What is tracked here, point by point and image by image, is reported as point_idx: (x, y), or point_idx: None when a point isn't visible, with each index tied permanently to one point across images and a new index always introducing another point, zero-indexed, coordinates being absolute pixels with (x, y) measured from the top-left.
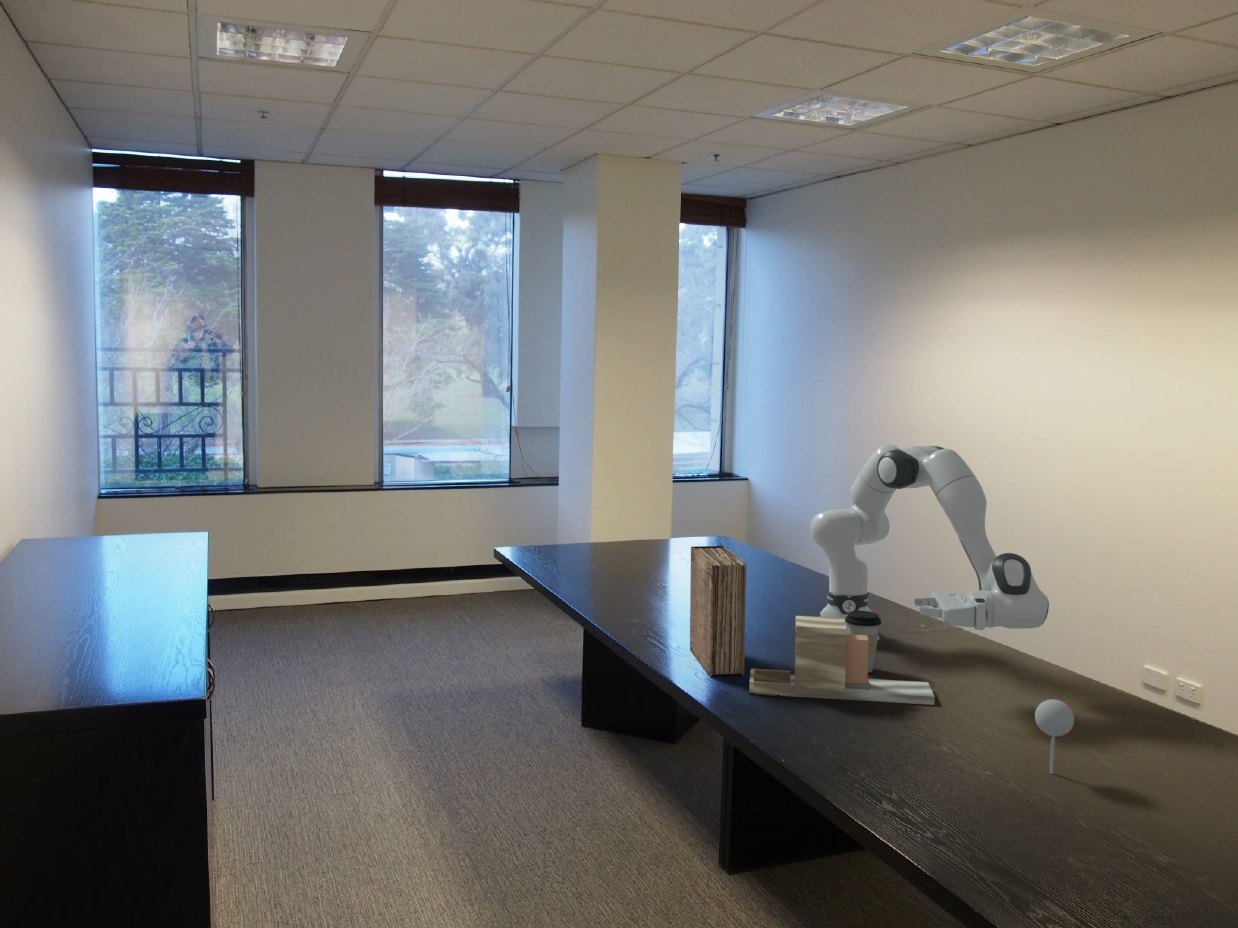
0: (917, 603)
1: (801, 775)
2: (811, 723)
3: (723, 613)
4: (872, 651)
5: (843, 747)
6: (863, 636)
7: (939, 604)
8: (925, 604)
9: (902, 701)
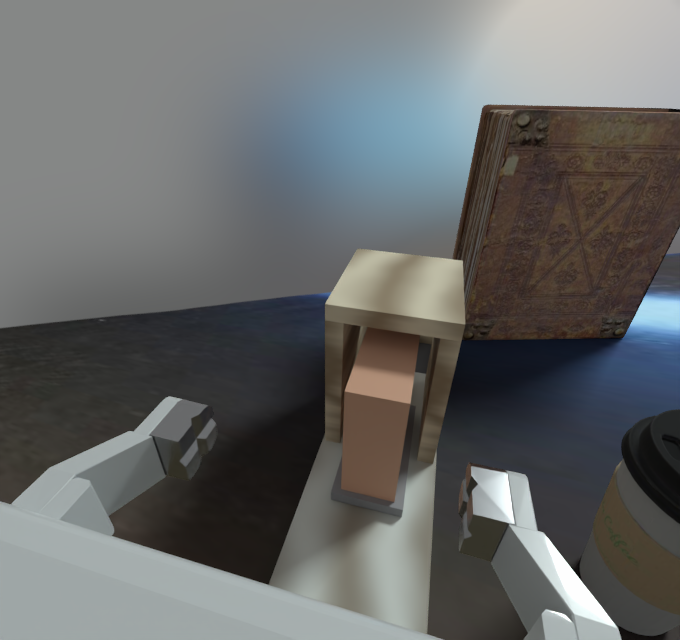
0: (462, 498)
1: (43, 325)
2: (209, 370)
3: (474, 216)
4: (625, 575)
5: (85, 383)
6: (394, 391)
7: (123, 541)
8: (517, 604)
9: None
